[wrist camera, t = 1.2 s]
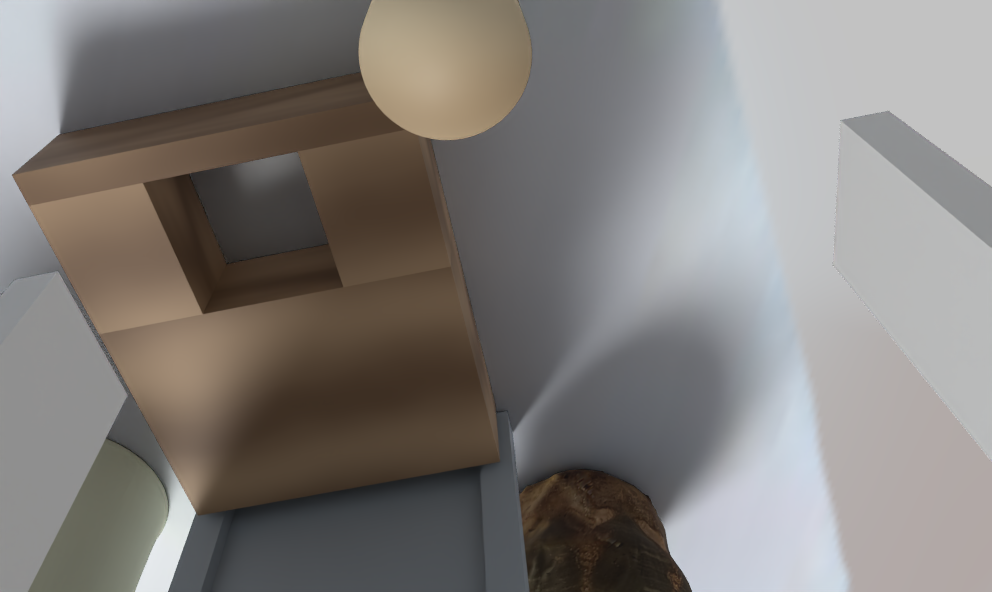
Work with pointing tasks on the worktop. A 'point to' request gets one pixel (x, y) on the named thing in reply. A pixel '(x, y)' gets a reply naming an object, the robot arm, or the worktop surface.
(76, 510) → the can
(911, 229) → the robot arm
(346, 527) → the grey open drawer
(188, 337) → the socket block
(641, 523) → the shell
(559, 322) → the worktop surface
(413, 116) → the peg
